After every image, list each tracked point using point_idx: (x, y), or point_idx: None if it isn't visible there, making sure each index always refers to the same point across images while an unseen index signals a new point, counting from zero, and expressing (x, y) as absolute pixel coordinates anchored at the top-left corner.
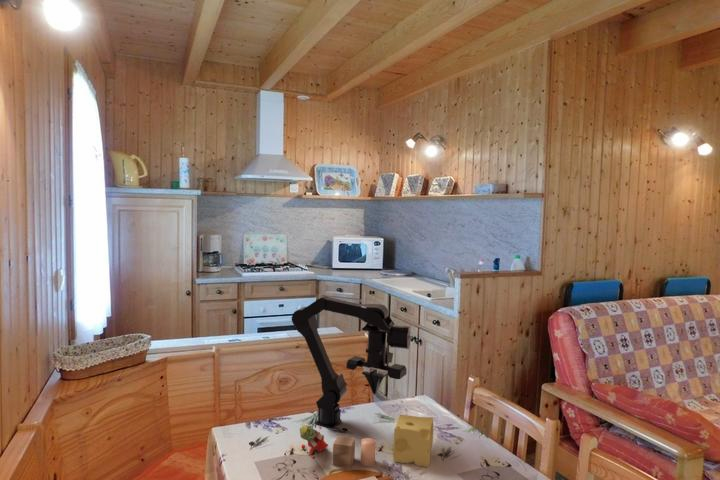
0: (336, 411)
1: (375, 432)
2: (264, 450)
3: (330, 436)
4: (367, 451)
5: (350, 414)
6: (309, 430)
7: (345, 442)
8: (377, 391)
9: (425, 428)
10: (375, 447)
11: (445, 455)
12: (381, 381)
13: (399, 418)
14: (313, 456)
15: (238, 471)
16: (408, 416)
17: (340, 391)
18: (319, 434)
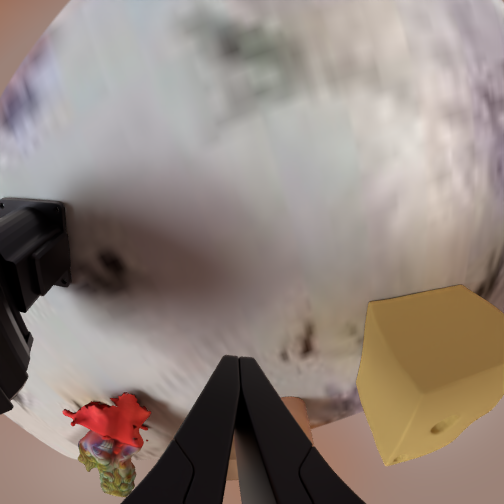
0: (36, 287)
1: (251, 237)
2: (45, 413)
3: (103, 332)
4: None
5: (65, 109)
6: (128, 493)
7: (227, 474)
8: (261, 371)
9: (480, 416)
10: (313, 443)
11: (488, 290)
12: (330, 468)
13: (413, 422)
14: (144, 429)
15: (76, 457)
16: (455, 390)
17: (10, 406)
18: (131, 455)
